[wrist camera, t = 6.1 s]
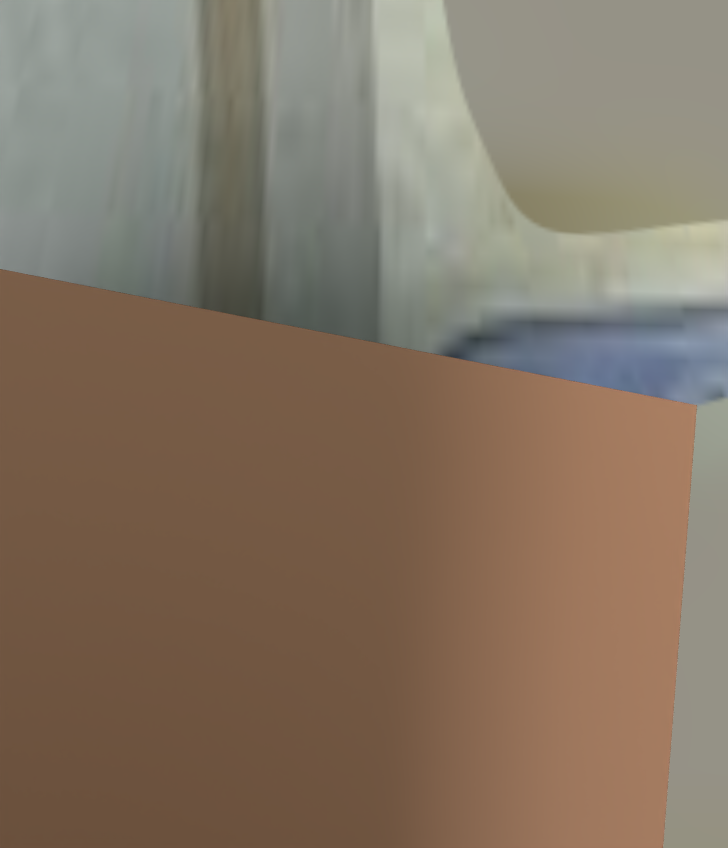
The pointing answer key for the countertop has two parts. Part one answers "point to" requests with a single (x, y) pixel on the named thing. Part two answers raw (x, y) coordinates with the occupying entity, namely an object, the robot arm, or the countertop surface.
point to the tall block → (325, 588)
